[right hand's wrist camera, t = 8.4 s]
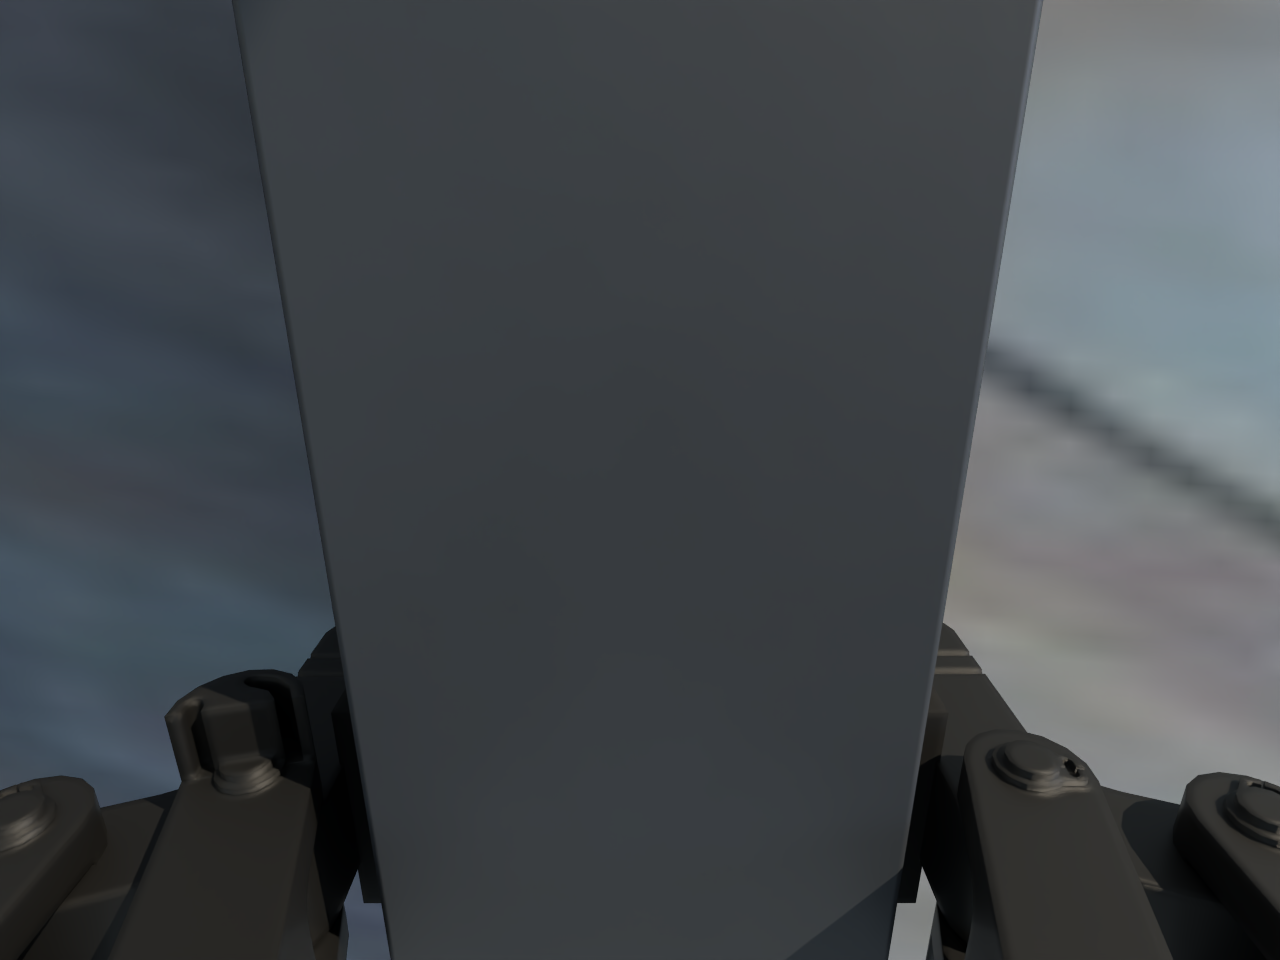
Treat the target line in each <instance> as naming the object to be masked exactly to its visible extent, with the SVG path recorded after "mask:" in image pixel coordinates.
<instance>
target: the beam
mask: <svg viewBox="0 0 1280 960" xmlns="http://www.w3.org/2000/svg"><path fill="white" fill-rule="evenodd" d="M232 4H233V10H234V16H235V22H236V28H237V34H238V40H239V46H240V52H241V58H242V64H243V70H244V76H245V82H246V88H247V94H248V100H249V106H250V112H251V118H252V124H253V130H254V136H255V143H256V149H257V155H258V161H259V167H260V173H261V179H262V185H263V191H264V197H265V203H266V209H267V215H268V221H269V227H270V233H271V239H272V245H273V251H274V257H275V263H276V269H277V275H278V281H279V287H280V293H281V300H282V306H283V312H284V318H285V324H286V330H287V336H288V342H289V348H290V354H291V360H292V366H293V372H294V378H295V384H296V390H297V396H298V402H299V408H300V414H301V420H302V426H303V432H304V438H305V444H306V450H307V457H308V463H309V469H310V475H311V481H312V487H313V493H314V499H315V505H316V511H317V517H318V523H319V529H320V535H321V541H322V547H323V553H324V559H325V565H326V571H327V577H328V583H329V589H330V595H331V601H332V608H333V614H334V620H335V626H336V632H337V638H338V644H339V650H340V656H341V662H342V668H343V674H344V680H345V686H346V692H347V698H348V704H349V710H350V716H351V722H352V728H353V734H354V740H355V746H356V752H357V758H358V765H359V771H360V777H361V783H362V789H363V795H364V801H365V807H366V813H367V819H368V825H369V831H370V837H371V843H372V849H373V855H374V861H375V867H376V873H377V879H378V885H379V891H380V897H381V903H382V909H383V915H384V922H385V928H386V934H387V940H388V946H389V952H390V958H391V960H888V956H889V950H890V944H891V938H892V932H893V926H894V919H895V913H896V907H897V901H898V895H899V888H900V882H901V876H902V870H903V864H904V858H905V851H906V845H907V839H908V833H909V827H910V820H911V814H912V808H913V802H914V796H915V790H916V783H917V777H918V771H919V765H920V759H921V752H922V746H923V740H924V734H925V728H926V722H927V715H928V709H929V703H930V697H931V691H932V684H933V678H934V672H935V666H936V660H937V654H938V647H939V641H940V635H941V629H942V623H943V616H944V610H945V604H946V598H947V592H948V586H949V579H950V573H951V567H952V561H953V555H954V548H955V542H956V536H957V530H958V524H959V518H960V511H961V505H962V499H963V493H964V487H965V480H966V474H967V468H968V462H969V456H970V450H971V443H972V437H973V431H974V425H975V419H976V412H977V406H978V400H979V394H980V388H981V382H982V375H983V369H984V363H985V357H986V351H987V344H988V338H989V332H990V326H991V320H992V314H993V307H994V301H995V295H996V289H997V283H998V276H999V270H1000V264H1001V258H1002V252H1003V246H1004V239H1005V233H1006V227H1007V221H1008V215H1009V208H1010V202H1011V196H1012V190H1013V184H1014V177H1015V171H1016V165H1017V159H1018V153H1019V147H1020V140H1021V134H1022V128H1023V122H1024V116H1025V109H1026V103H1027V97H1028V91H1029V85H1030V79H1031V72H1032V66H1033V60H1034V54H1035V48H1036V41H1037V35H1038V29H1039V23H1040V17H1041V11H1042V4H1043V0H232Z"/></svg>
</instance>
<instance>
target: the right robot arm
mask: <svg viewBox="0 0 1280 960" xmlns="http://www.w3.org/2000/svg"><path fill="white" fill-rule="evenodd" d="M165 721H166V725H167V728H168V732H169V736H170V740H171V743H172V747H173V751H174V754H175V758H176V762H177V766H178V769H179V773H180V777H181V781H182V782H181V785H180V787H179V789H178V790H174V791H171V792H168V793H164V794H161V795H157V796H152V797H148V798H143V799H139V800H134V801H130V802H125V803H121V804H116V805H112V806H107V807H103V808H100V806H99V803H98V800H97V797H96V794H95V791H94V788H93V787H92V786H90V785H89V784H88V783H87V782H86V781H84V780H83V779H81V778H74V777H68V776H54V777H47V778H39V779H33V780H30V781H27V782H23V783H20V784H18V785H14V786H11V787H8V788H6V789H3V790H1V791H0V960H346V956H347V947H348V937H349V933H348V926H347V918H346V913H345V907H344V901H345V899H346V896H347V894H348V891H349V889H350V886H351V884H352V882H353V879H354V877H355V874H356V872H357V870H358V872H359V878H360V884H361V890H362V895H363V901H364V903H381V897H380V891H379V885H378V879H377V873H376V867H375V861H374V855H373V849H372V843H371V837H370V831H369V825H368V819H367V813H366V807H365V801H364V795H363V789H362V783H361V777H360V771H359V765H358V758H357V752H356V746H355V740H354V734H353V728H352V722H351V716H350V710H349V704H348V698H347V692H346V686H345V680H344V674H343V668H342V662H341V656H340V650H339V644H338V638H337V632H336V626H335V627H334V628H332V629H331V630H329V631H328V632H326V634H325V635H324V636H323V638H322V639H321V641H320V642H319V643H318V645H317V646H316V648H315V649H314V651H313V652H312V653H311V658H308V659H307V660H306V662H305V663H304V665H303V666H302V667H301V669H300V670H299V672H298V677H295V676H294V675H292V674H290V673H286V672H282V671H278V670H274V669H268V670H248V671H243V672H239V673H235V674H230V675H226V676H222V677H220V678H218V679H215V680H213V681H211V682H208V683H206V684H204V685H201V686H199V687H197V688H196V689H194V690H193V691H191V692H190V693H188V694H187V695H185V696H184V697H182V698H181V699H180V700H178V701H177V702H176V703H175V705H174V706H173V707H172V708H171V709H170V711H169V712H168V713H167V714H166V716H165ZM922 867H923V869H924V872H925V874H926V877H927V879H928V881H929V884H930V886H931V889H932V891H933V893H934V896H935V898H936V901H937V902H936V907H935V913H934V918H933V924H932V929H931V934H930V940H929V945H928V950H927V956H926V960H1280V787H1279V786H1276V785H1274V784H1271V783H1268V782H1266V781H1261V780H1259V779H1255V778H1252V777H1249V776H1244V775H1237V774H1229V773H1222V772H1217V773H1210V774H1203V775H1198V776H1197V777H1196V778H1194V779H1193V780H1192V781H1191V782H1190V783H1188V784H1187V785H1186V789H1185V792H1184V795H1183V798H1182V801H1181V804H1180V805H1179V804H1174V803H1170V802H1165V801H1161V800H1156V799H1152V798H1147V797H1143V796H1138V795H1134V794H1129V793H1125V792H1120V791H1117V790H1113V789H1110V788H1106V787H1103V786H1100V783H1099V781H1098V780H1097V778H1096V777H1095V775H1094V774H1093V772H1092V771H1091V769H1090V768H1089V767H1088V765H1087V764H1086V763H1085V762H1084V761H1082V760H1081V759H1080V758H1079V757H1077V756H1076V755H1075V754H1073V753H1072V752H1071V751H1070V750H1068V749H1067V748H1065V747H1063V746H1061V745H1059V744H1057V743H1055V742H1053V741H1051V740H1049V739H1047V738H1045V737H1042V736H1038V735H1034V734H1031V733H1027V732H1026V730H1025V729H1024V728H1023V726H1022V725H1021V723H1020V722H1019V721H1018V719H1017V718H1016V716H1015V715H1014V714H1013V712H1012V711H1011V709H1010V708H1009V707H1008V705H1007V704H1006V702H1005V701H1004V700H1003V698H1002V697H1001V695H1000V694H999V693H998V691H997V690H996V689H995V687H994V686H993V684H992V683H991V682H990V680H989V679H988V677H987V676H986V675H985V674H982V669H981V668H980V666H979V665H978V663H977V662H976V661H975V659H974V658H973V656H969V651H968V649H967V648H966V647H965V645H964V644H963V642H962V641H961V640H960V638H959V637H958V635H957V634H956V633H955V631H954V630H953V629H951V628H950V627H948V626H947V625H945V624H944V623H942V629H941V635H940V641H939V647H938V654H937V660H936V666H935V672H934V678H933V684H932V691H931V697H930V703H929V709H928V715H927V722H926V728H925V734H924V740H923V746H922V752H921V759H920V765H919V771H918V777H917V783H916V790H915V796H914V802H913V808H912V814H911V820H910V827H909V833H908V839H907V845H906V851H905V858H904V864H903V870H902V876H901V882H900V888H899V895H898V901H897V903H916V898H917V892H918V887H919V881H920V875H921V869H922Z"/></svg>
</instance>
